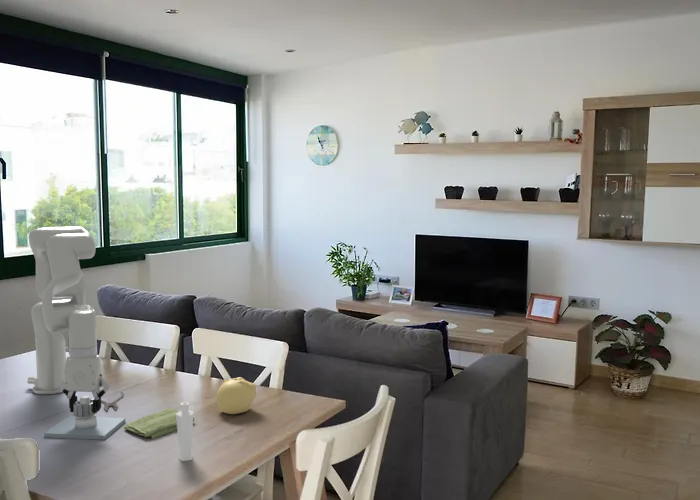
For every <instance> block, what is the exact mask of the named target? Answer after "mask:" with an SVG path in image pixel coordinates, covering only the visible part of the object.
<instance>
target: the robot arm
mask: <svg viewBox="0 0 700 500" xmlns="http://www.w3.org/2000/svg"><path fill="white" fill-rule="evenodd" d="M28 243H29V247H30V249H31V251H32V253H33V256H34V259H35V290H36V294H37V296H38V298H41V301H40V302H37V303H36V304H34V305H33V306H32V308H31V313H30V314H31V321H32V325H33V330H34V342H35V358H36V364H35V365H36V377H35V376H28V377H27V381H26V382H27V384H28V385H30V384H31V385H34V386H33V387H32V392H33V393H35V394H36V395H54V394H60V393H63V394H64V395H65V396H66V398H67V399H68V408H69V411H70V413H74V411H73V403H74V402H75V401H76V400H78V395H77V392H82V393H83V392H84V393H85V392H86V393H88V392H89V393H91V394H92V396H93V399H94V400H93V413H96V414H98V412H99V411H101V409H102V403H101V400H102V398H103V396H104V395H105V394H106V393H107V392H108V391H109V390H110V389H111V388H112V386H111V384H110V382H108V381H107V380H106V379H105V378H104V373H103V372H104V371H103V365H102V361H101V357H100V355H99V354H98V342H97V341H98V340H97V339H98V338H97V315H96V313H97V312H96V310H95V309H94V308H93V307H92V306H91V305H90V304H87V280H86V277H85V275H84V273H83V271H82V269H81V266H80V265H81V264H80V260H87V259H89V260H90V259H92V258H93V257H95V254H96V248H97V247H96V243H95V239H94V237H93V236H92V234H91V233H90V232H89V231H88V230H86V228H85V227H83V226H48V227H47V226H46V227H37V228H33V229H32V230H31V231H30V232H29V235H28ZM61 298H64V299H61ZM65 298H66V299H65ZM53 299H54V300H53ZM65 332H68V347H66V339H65V336H64V335H63V334H62V333H65ZM67 353H68V356H67ZM102 387H103V388H102ZM101 388H102V389H101Z"/></svg>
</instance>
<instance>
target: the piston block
mask: <svg viewBox="0 0 700 500" xmlns="http://www.w3.org/2000/svg"><path fill="white" fill-rule="evenodd" d="M90 398H91V396H89V395H84V396H80V397H79V400H80V404H89V403H90ZM125 423H126V417H103V416H97V414H95V415H92V416H89V417H76V416H74V415H69V416H67V417H65V418H64V419H62V420H61V421H59V422H58V423H57V424H55V425H54V426H53V427H51V428H50V429H47V430H46V431H45V432H44V433H43V438H51V439H52V438H53V439H54V438H55V439H56V438H58V439H78V440H79V439H80V440H82V439H83V440H99V441H100V440H103V441H105V440H106V439H107V438H108V437H110V436H111V435H112V434H114V432H116V430H118V429H119V428H120V427H121V426H123V425H124V424H125Z"/></svg>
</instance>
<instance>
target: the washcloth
mask: <svg viewBox="0 0 700 500" xmlns="http://www.w3.org/2000/svg"><path fill="white" fill-rule="evenodd" d="M178 412H179V411H178V410H176V409H174V408H171V407H168V408H164V409H162V410H161V411H158V412H154V413H152V414H148V415H147V416H144V417H142V418H141V417H140V418H138V419H135V420H132V421H129V422H128V423H127V424H126V425H125V426H124V428H123V429H124V430H126V431H129V432H131V433H134V434H136V435H138V436H143V437H145V438H149V439H150V440H154V439H156V438H159V437H161V436H162V437H163V436H164V435H167V434H170V433H172V432H176V431H177V421H176V413H178ZM194 421H195V418H194V416H193V423H194Z"/></svg>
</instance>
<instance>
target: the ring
mask: <svg viewBox="0 0 700 500" xmlns="http://www.w3.org/2000/svg"><path fill="white" fill-rule="evenodd" d="M93 400H94V397H92V398H91V397H90V403H89V404H80V399H77V400H76V401H75V402H74V403H73V411H74V412H73V416H76V417H89V416H92V415H97V413H93Z"/></svg>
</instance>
